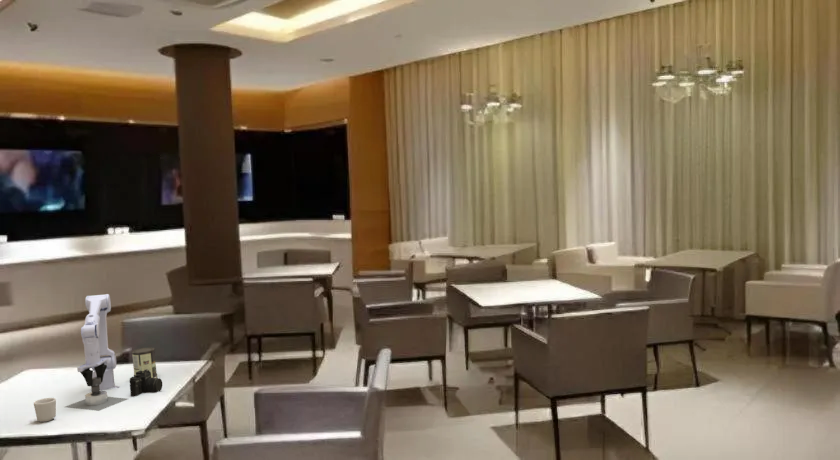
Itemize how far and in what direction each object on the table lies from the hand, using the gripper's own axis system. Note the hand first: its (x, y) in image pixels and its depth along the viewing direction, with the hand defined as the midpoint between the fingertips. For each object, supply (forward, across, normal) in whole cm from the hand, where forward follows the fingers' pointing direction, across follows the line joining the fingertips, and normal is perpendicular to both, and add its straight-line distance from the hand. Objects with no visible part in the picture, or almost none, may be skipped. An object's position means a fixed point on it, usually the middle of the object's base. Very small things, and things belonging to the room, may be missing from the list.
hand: (95, 384), depth 303 cm
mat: (+9, 0, 0) cm, 9 cm away
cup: (+9, -19, +6) cm, 22 cm away
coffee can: (+9, +38, +10) cm, 40 cm away
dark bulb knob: (+4, 0, 0) cm, 4 cm away
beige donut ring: (+8, 0, 0) cm, 8 cm away
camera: (+10, +19, -10) cm, 23 cm away
